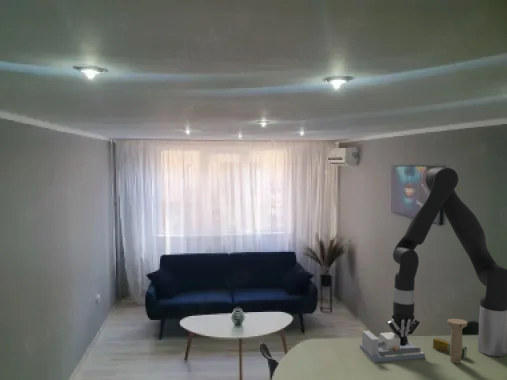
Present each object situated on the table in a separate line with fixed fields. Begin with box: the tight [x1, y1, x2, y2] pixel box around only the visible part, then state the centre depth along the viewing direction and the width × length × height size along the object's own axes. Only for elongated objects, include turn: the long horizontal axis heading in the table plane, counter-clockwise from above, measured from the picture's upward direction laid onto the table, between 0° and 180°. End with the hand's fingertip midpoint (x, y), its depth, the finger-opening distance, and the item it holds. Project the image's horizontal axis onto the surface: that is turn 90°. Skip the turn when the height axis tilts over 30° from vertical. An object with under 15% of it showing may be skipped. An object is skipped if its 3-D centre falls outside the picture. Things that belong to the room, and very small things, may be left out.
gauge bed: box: [359, 330, 426, 363], centre depth 164 cm, size 20×12×8 cm, turn 101°
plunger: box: [378, 331, 400, 350], centre depth 163 cm, size 8×8×5 cm
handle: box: [447, 318, 468, 364], centre depth 157 cm, size 5×6×15 cm
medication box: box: [432, 337, 468, 360], centre depth 165 cm, size 12×3×4 cm, turn 41°
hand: (402, 345), depth 165 cm, fingers closed
